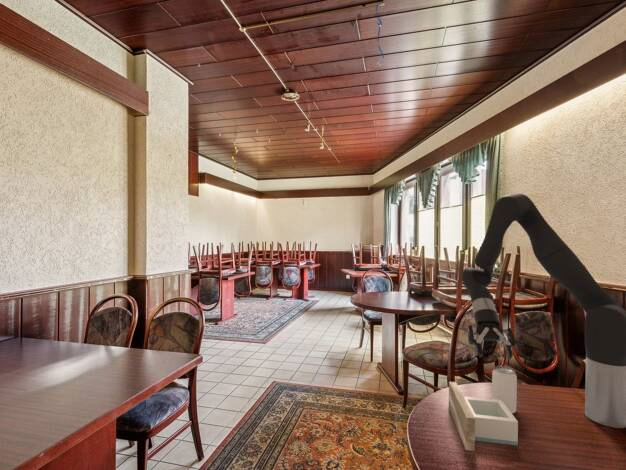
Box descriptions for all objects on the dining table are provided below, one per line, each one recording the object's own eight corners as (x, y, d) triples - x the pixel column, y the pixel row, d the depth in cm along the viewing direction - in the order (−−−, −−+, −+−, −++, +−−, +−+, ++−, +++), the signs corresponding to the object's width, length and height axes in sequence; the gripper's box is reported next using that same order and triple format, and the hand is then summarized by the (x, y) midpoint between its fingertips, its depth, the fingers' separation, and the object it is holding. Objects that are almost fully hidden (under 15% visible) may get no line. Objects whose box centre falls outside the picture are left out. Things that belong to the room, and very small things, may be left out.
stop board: (455, 408, 100) (455, 382, 100) (474, 451, 81) (475, 418, 81) (448, 407, 101) (448, 381, 101) (465, 449, 81) (466, 417, 81)
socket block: (501, 421, 94) (501, 400, 94) (517, 445, 83) (518, 421, 83) (460, 416, 96) (460, 396, 96) (470, 439, 85) (471, 416, 85)
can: (520, 415, 97) (521, 374, 97) (498, 414, 97) (499, 373, 97) (508, 403, 104) (509, 365, 104) (487, 403, 104) (488, 365, 104)
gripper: (466, 306, 118) (474, 350, 107) (509, 309, 115) (523, 353, 104) (462, 318, 123) (470, 360, 112) (503, 320, 120) (516, 363, 109)
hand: (495, 357), depth 108 cm, fingers open, 8 cm apart
